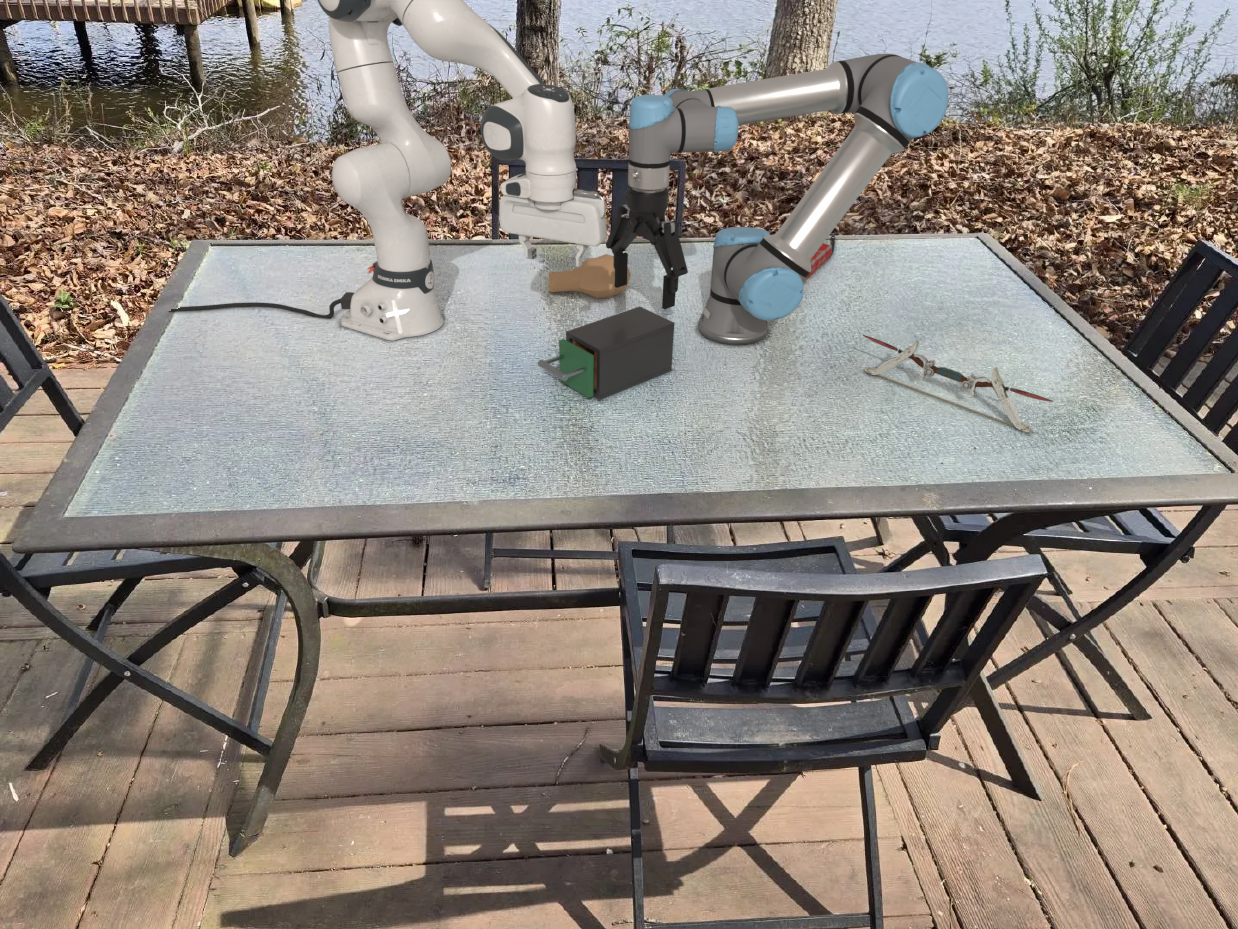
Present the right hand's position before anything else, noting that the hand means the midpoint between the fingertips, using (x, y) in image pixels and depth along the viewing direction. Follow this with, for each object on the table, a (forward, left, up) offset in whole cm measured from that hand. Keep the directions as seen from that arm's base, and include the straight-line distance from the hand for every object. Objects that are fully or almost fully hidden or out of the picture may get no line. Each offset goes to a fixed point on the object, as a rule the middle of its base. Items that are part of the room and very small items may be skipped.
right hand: (644, 296), depth 172 cm
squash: (-17, -37, -16) cm, 43 cm away
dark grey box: (+6, 0, -16) cm, 17 cm away
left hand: (+17, -7, +9) cm, 20 cm away
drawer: (+11, 0, -15) cm, 19 cm away
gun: (-65, -18, -16) cm, 69 cm away
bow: (-37, +48, -16) cm, 62 cm away
